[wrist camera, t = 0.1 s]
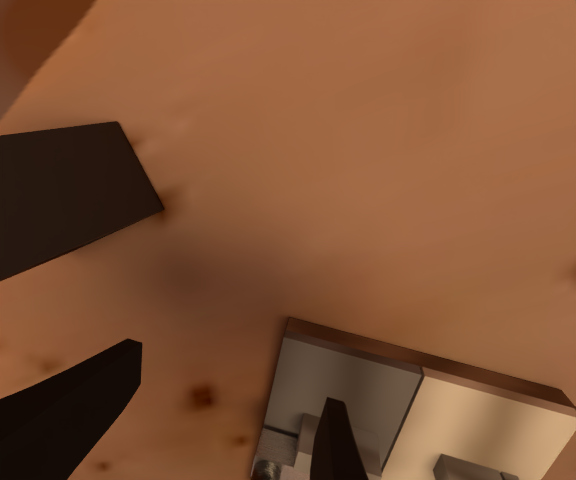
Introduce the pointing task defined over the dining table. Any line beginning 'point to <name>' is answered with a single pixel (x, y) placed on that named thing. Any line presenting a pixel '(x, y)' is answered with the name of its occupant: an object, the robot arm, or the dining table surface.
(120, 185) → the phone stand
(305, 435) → the door and jamb
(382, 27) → the dining table surface
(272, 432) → the bolt
